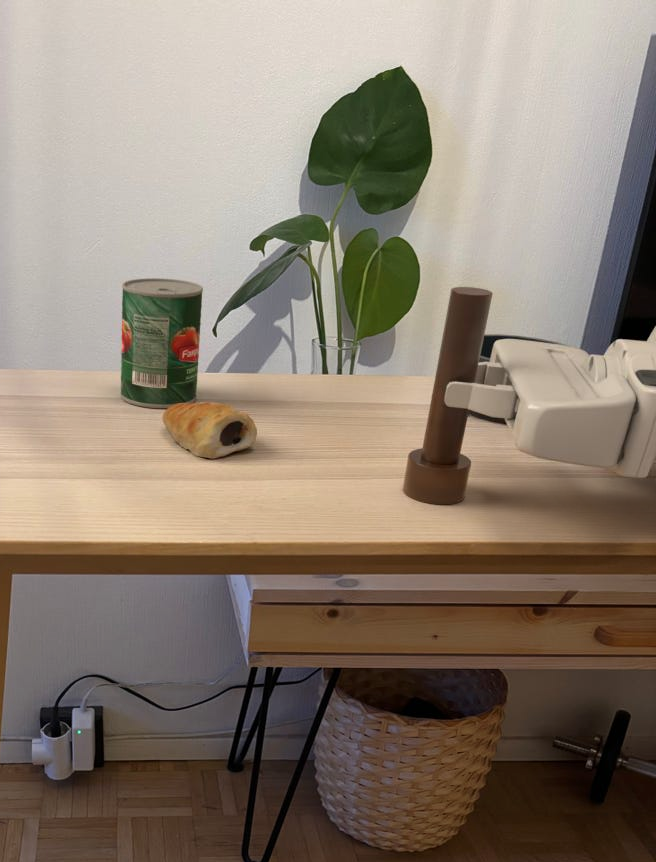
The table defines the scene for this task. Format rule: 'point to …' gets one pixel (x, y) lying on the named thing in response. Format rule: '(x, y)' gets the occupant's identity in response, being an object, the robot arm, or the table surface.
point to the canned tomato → (160, 341)
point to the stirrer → (440, 456)
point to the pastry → (209, 428)
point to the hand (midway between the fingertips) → (442, 384)
